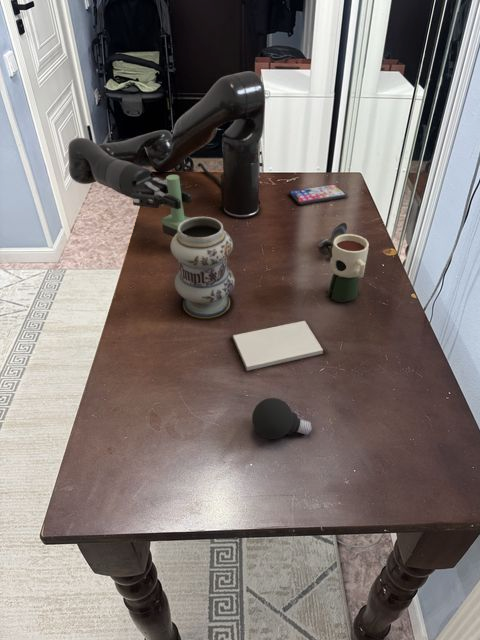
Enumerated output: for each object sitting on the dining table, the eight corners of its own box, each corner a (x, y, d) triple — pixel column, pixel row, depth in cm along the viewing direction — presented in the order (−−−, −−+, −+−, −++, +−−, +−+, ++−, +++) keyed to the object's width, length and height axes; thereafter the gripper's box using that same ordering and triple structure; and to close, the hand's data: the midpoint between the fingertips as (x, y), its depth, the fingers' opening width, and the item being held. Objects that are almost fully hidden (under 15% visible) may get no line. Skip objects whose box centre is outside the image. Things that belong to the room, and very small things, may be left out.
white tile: (246, 370, 89) (246, 367, 89) (232, 339, 96) (232, 335, 95) (322, 353, 93) (323, 349, 92) (304, 324, 99) (304, 320, 99)
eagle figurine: (354, 258, 115) (353, 232, 121) (341, 237, 111) (340, 211, 116) (324, 269, 119) (325, 243, 124) (310, 249, 114) (311, 224, 120)
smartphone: (347, 194, 139) (299, 203, 135) (346, 198, 140) (299, 206, 136) (335, 183, 144) (288, 190, 140) (334, 186, 145) (288, 193, 141)
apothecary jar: (199, 280, 109) (193, 205, 97) (246, 298, 105) (245, 221, 93) (165, 309, 102) (154, 231, 89) (213, 329, 97) (209, 250, 85)
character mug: (316, 285, 109) (322, 233, 100) (343, 278, 111) (352, 226, 102) (340, 314, 102) (349, 260, 93) (370, 306, 104) (381, 253, 95)
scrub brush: (162, 233, 117) (153, 176, 108) (176, 225, 119) (168, 170, 110) (184, 242, 113) (176, 184, 104) (198, 234, 116) (191, 177, 107)
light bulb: (323, 427, 75) (262, 410, 72) (306, 457, 78) (247, 441, 75) (316, 401, 80) (259, 385, 78) (300, 430, 83) (245, 415, 81)
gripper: (153, 184, 123) (206, 206, 116) (110, 205, 115) (164, 229, 108) (149, 154, 118) (204, 175, 111) (103, 174, 109) (160, 197, 102)
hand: (184, 202), depth 109 cm, fingers closed on scrub brush, 2 cm apart
